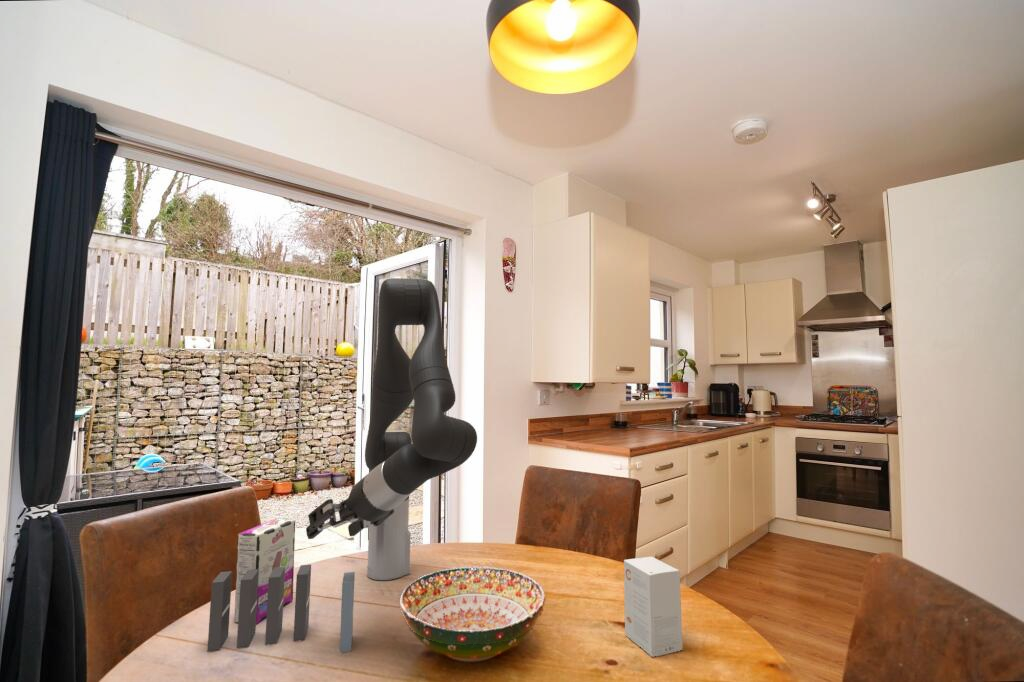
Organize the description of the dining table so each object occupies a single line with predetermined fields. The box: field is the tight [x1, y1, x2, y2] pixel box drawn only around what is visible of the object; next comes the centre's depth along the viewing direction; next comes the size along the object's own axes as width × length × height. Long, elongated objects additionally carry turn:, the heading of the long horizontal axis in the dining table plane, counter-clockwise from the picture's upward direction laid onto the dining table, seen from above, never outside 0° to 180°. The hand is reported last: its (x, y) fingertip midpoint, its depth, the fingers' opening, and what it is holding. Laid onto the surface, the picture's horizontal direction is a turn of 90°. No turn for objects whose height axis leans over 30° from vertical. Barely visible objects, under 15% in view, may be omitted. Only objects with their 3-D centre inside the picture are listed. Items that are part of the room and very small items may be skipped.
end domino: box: [206, 570, 233, 653], centre depth 84 cm, size 2×5×11 cm, turn 16°
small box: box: [623, 556, 684, 658], centre depth 85 cm, size 8×6×13 cm
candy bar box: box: [233, 517, 296, 625], centre depth 97 cm, size 11×5×16 cm, turn 168°
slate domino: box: [339, 571, 356, 653], centre depth 84 cm, size 2×5×11 cm, turn 16°
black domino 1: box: [236, 569, 259, 649], centre depth 85 cm, size 2×5×11 cm, turn 16°
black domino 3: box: [293, 564, 312, 642], centre depth 88 cm, size 2×5×11 cm, turn 16°
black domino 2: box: [264, 567, 285, 646], centre depth 86 cm, size 2×5×11 cm, turn 15°
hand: (330, 532), depth 90 cm, fingers open, 8 cm apart
